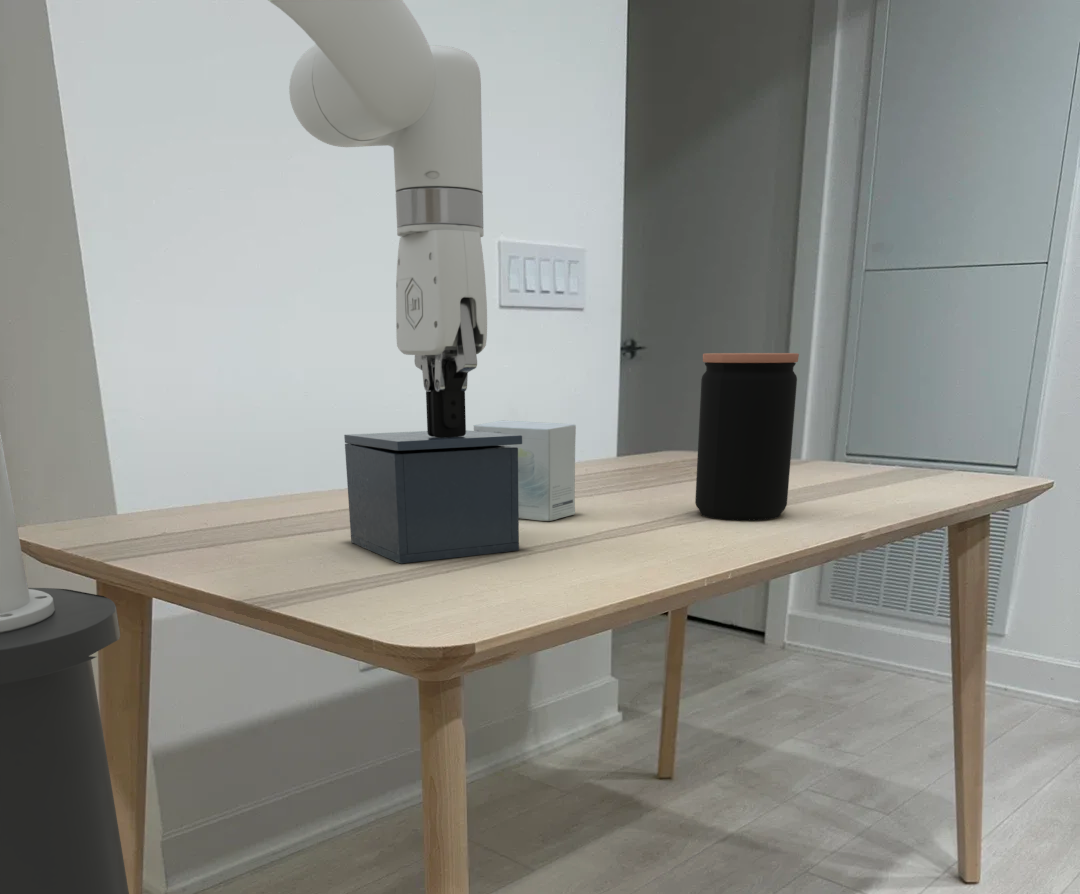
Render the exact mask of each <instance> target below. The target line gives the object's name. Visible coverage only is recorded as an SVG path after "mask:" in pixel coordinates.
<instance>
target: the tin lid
mask: <svg viewBox="0 0 1080 894" xmlns="http://www.w3.org/2000/svg"><path fill="white" fill-rule="evenodd" d="M343 436H344V444H347V443H349V444H355V445H362V446H369V447H376V448H382V449H389V450H396V451H406V450H424V449H443V448H461V447H480V446H498V445H517V444H522V436H521V435H511V434H501V433H490V432H479V431H474V430H468V429H466V434H465V435H464V436H460V437H432V436H429V435H428V432H427V430H419V431H396V432H373V433H371V432H370V433H351V434H344V435H343Z"/></svg>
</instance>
